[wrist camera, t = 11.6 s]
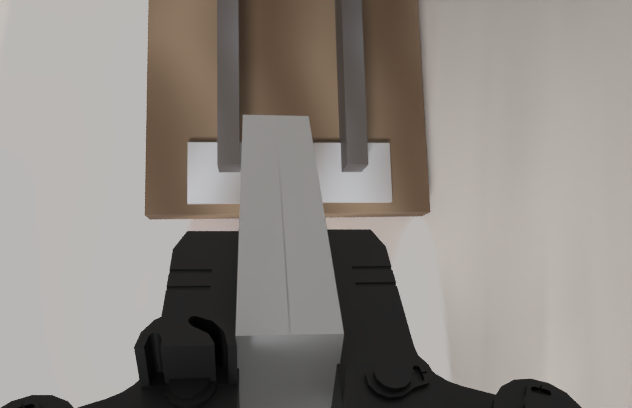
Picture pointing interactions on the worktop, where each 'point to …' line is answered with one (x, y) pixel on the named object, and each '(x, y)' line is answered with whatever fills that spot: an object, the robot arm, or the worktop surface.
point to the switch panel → (285, 101)
